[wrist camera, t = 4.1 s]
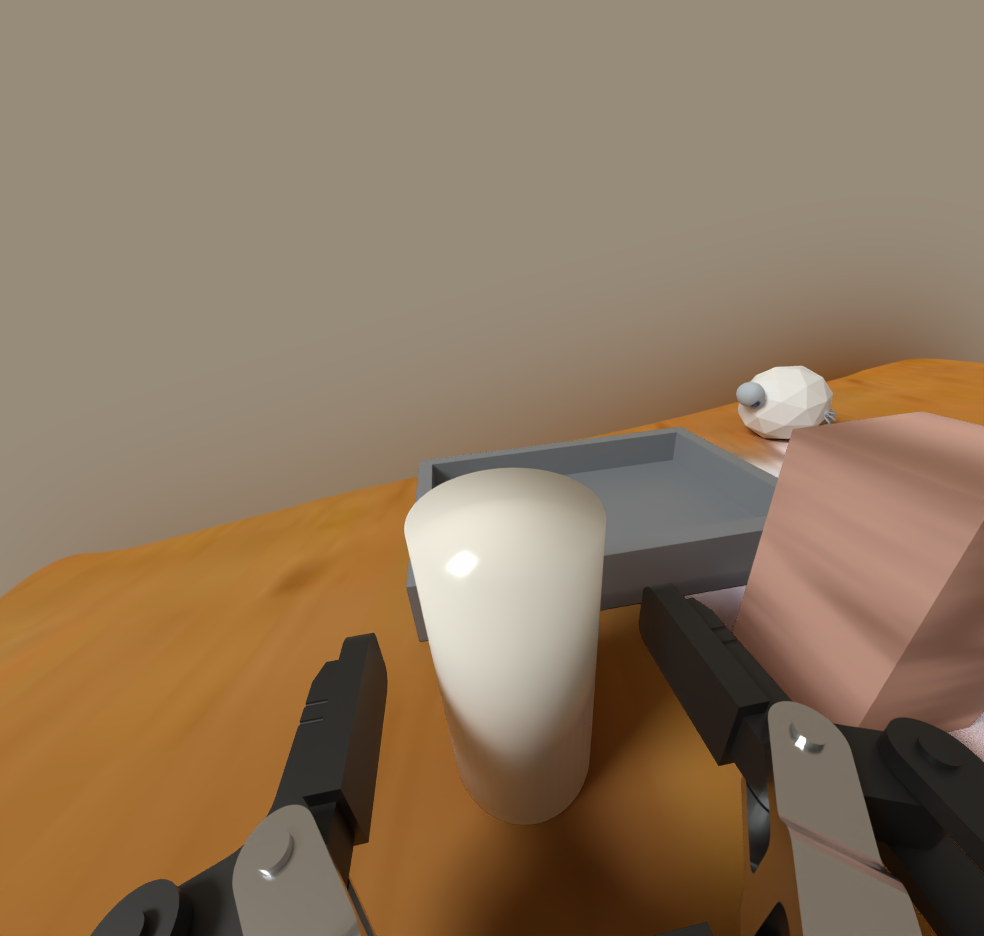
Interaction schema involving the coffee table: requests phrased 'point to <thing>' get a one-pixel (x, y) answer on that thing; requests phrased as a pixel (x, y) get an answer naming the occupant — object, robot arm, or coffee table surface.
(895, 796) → the robot arm
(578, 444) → the tray
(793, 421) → the alien figurine
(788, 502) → the coral block
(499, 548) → the cream cylinder
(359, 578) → the coffee table surface
